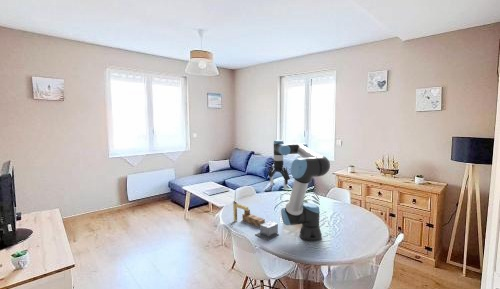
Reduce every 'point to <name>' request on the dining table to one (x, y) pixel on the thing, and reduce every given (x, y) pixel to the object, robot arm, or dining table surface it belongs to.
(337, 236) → the dining table surface
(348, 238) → the dining table surface
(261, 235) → the mat
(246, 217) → the plane body
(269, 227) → the light grey block
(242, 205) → the tan wooden flat frame
